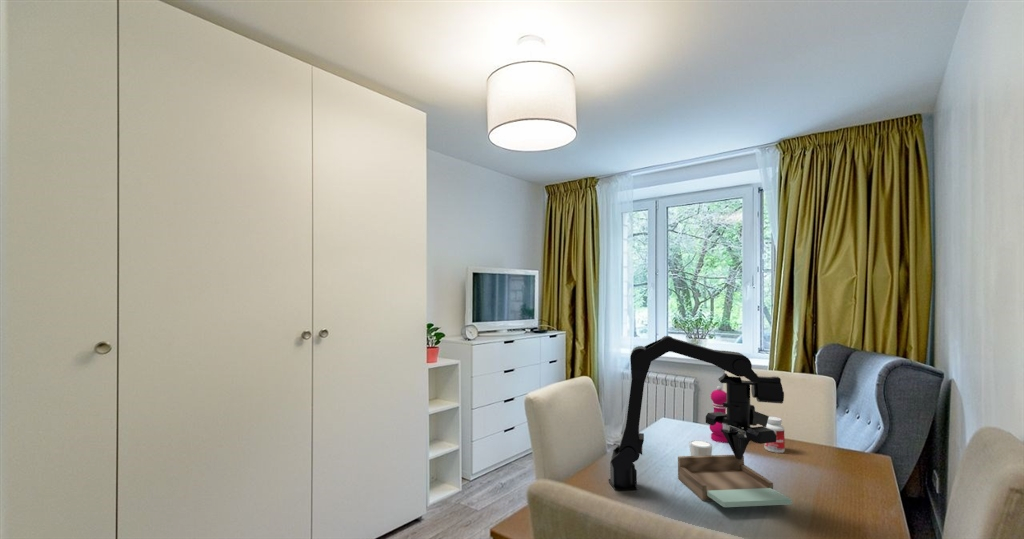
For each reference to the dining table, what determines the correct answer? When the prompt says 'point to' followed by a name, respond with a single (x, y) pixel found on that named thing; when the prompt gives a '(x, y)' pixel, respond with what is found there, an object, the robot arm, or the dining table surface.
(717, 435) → the pepper mill
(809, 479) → the dining table surface
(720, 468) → the tray
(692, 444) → the shot glass
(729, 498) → the tailgate
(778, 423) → the pill bottle
